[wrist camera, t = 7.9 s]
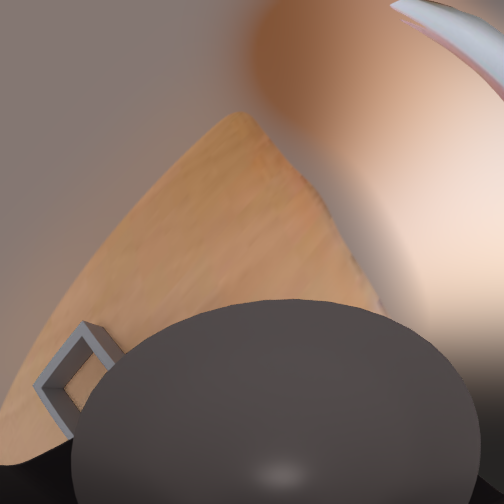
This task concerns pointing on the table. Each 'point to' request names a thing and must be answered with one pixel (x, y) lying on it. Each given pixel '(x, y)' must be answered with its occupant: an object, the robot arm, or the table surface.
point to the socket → (73, 372)
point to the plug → (279, 414)
